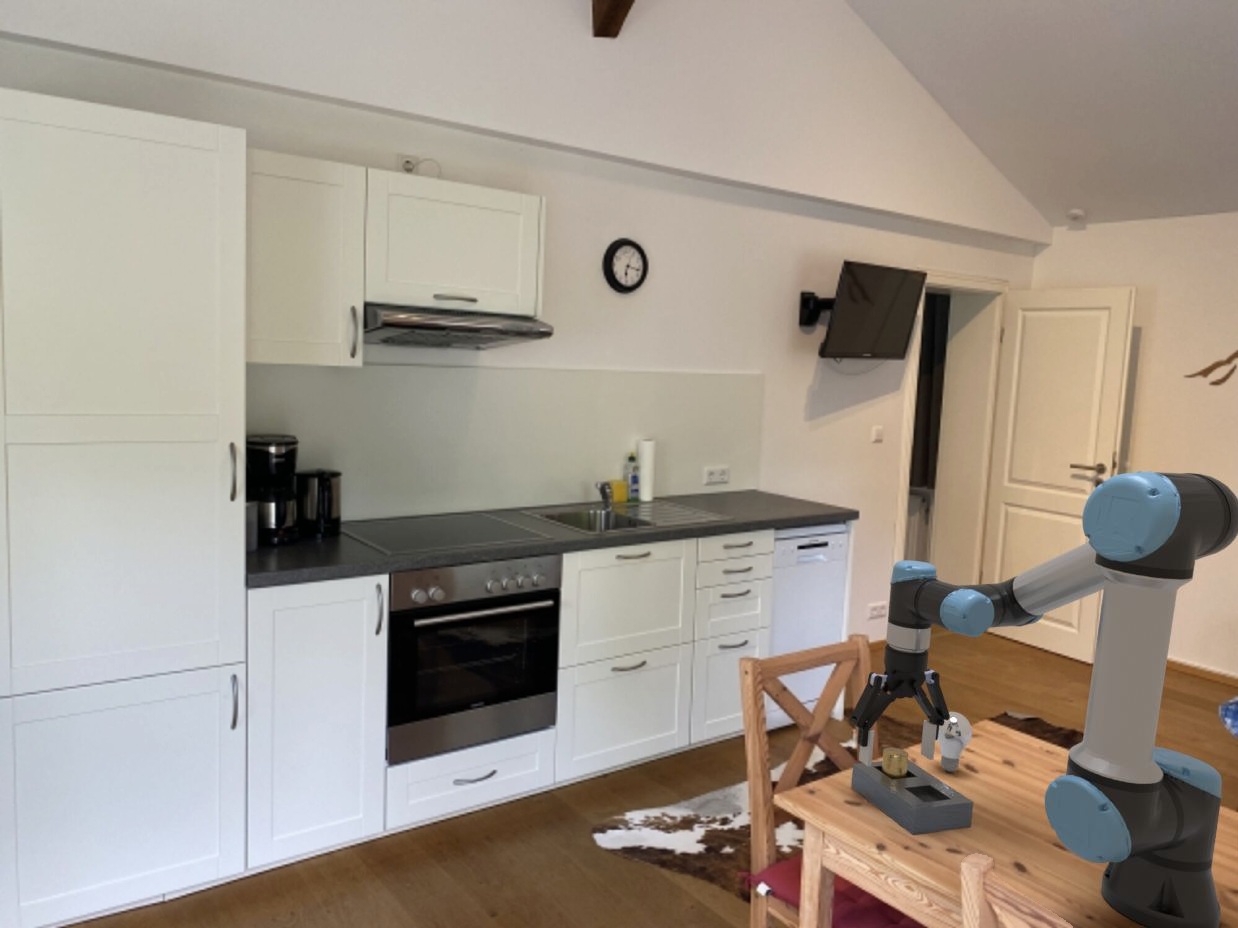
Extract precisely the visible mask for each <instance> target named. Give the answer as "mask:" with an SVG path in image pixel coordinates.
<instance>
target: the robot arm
mask: <svg viewBox="0 0 1238 928" xmlns="http://www.w3.org/2000/svg"><path fill="white" fill-rule="evenodd" d="M1081 522H1082V531H1083V533H1084V536H1085V537H1087V538H1088V542H1085V543H1084V544H1083V543H1082V544H1081V545H1078V546H1077V547H1075V548H1073V549H1071V550H1068V551H1066V552H1064V553H1062V554H1059V555H1058V556H1056V557H1054V558H1051V559H1049V560H1047V561H1045V562H1043V563H1040V564H1038V565H1036V566H1034V567H1032V568H1030V569H1028V570H1025V571H1024V572H1022V573H1020V574H1019V573H1018V575H1016V576H1013V577H1011V578H1009V579H1007V580H1005V581H1002V582H998V583H983V584H966V585H965V584H964V585H962V584H960V585H957V584H952V583H949V582H945V581H942V580H940V579H938V576H937V568H936V567H935V565H933V564H931V563H929V562H924V561H918V560H909V559H907V560H906V559H905V560H899V561H897V562H895V563H894V565H893V568H892V573H891V578H890V581H889V583H890V591H889V592H890V593H889V603H888V615H887V625H886V627H887V628H886V636H885V642H886V643H887V644H886V645H885V647H884V658H883V664H884V667H885V668H884V672H883V674H877V673H875V672H873V671H871V672H869V674H868V677H867V683H866V685H865V688H864V689H863V692H862V693H861V695H860V697H859V700H858V701H857V703H856V705H855V707H854V709H853V710H852V713H851V715H850V717H849V719H848V720H849V723H850V724H852V725H853V726H855V727H857V728H858V732H857V744H858V745H859V751H858V752H859V753H858V754H859V756H858V761H860V762H861V763H864V764H865V765H867V766H871V762H873V761H872V760H873V751H874V749H873V748H874V738H875V730H874V729H872V728H873V726H874V725H875V724H876V723H877V721H878V719H880V717H881V716H882V714H883V713H884V712H885V711H886V709H887V708H888V707H889V706H890V705H891V703H894V702H895V701H896V700H897V699H899V700H900V699H904V698H908V699H913V698H914V699H915V701H916V702H917V704H918V706H919V707H920V709H921V710H922V711H923V713H924V714H925V716H926V718H927V719H923V724H922V725H923V726H922V735H921V745H920V755H921V756H923V757H925V758H926V759H928V760H929V761H933V760H934V759H935V758H934V757H935V748H936V741H938V740H937V739H938V734H939V725H940V726H943V725H944V720H949V718H950V715H949V712H950V711H949V708H948V706H947V702H946V700H945V696H944V695H943V691H942V688H941V685H940V673H939V672H936V671H935V670H933V669H931V668H928V662H929V653H930V652H929V651H928V649H929V648H930V646H931V645H930V644H931V643H930V642H931V633H932V632H931V631H932V624H933V625H935V626H938V627H939V628H943V629H946V630H949V631H950V632H952V633H955V634H957V635H963V636H967V637H969V638H971V637H972V638H975V637H980V636H981V635H983V633H986V632H988V630H989V629H991V628H1005V627H1024V626H1028V625H1032V624H1035V623H1038V622H1039V621H1040V620H1041V619H1042V618H1043V616H1044V614H1046V613H1047V614H1048V613H1049V612H1052V611H1053V610H1056V609H1060V608H1061V607H1064V606H1066V605H1068V604H1071V603H1073V602H1076V601H1079V600H1081V599H1083V598H1085V597H1088V596H1091V595H1093V594H1096V593H1097V592H1100V591H1103V592H1102V599H1101V607H1100V614H1099V622H1098V628H1097V635H1096V636H1097V637H1096V644H1095V648H1094V649H1095V650H1094V659H1093V664H1092V673H1091V680H1090V689H1089V694H1088V701H1087V708H1086V709H1087V710H1086V716H1085V722H1084V723H1085V724H1084V730H1083V731H1084V732H1083V738H1082V740H1081V742H1079V743H1077V744H1075V745H1073V746H1072V747H1070V748H1069V751H1068V758H1067V764H1066V771H1065V774H1062V775H1059V776H1058V777H1057V778H1055V779H1054V780H1052V781H1051V782H1050V783H1049V785H1048V786H1047V788H1046V791H1045V795H1044V809H1045V814H1046V817H1047V820H1048V822H1049V825H1050V828H1052V829H1053V830H1054V831H1055V834H1056V837H1057V838H1058V840H1059V841H1060V843H1062V844H1063V845H1064V846H1065V847H1066V848H1067V850H1068V851H1070V852H1071V853H1072V854H1074V855H1076V856H1077V857H1079V858H1080V859H1082V860H1084V861H1087V862H1091V863H1095V864H1105V863H1108V864H1107V866H1106V868H1105V870H1104V872H1103V874H1102V878H1101V885H1100V887H1101V888H1100V892H1101V895H1102V897H1103V898H1104V900H1105V901H1106V902H1107V903H1108V904H1109V905H1110V906H1111V907H1112V908H1113V909H1115V910H1116V911H1117V912H1119V914H1122V915H1123V916H1125V917H1126V918H1128V919H1130V920H1132V921H1134V922H1137V923H1138V924H1141V925H1143V926H1145V927H1147V928H1220V922H1221V915H1222V913H1221V912H1222V910H1221V906H1220V903H1219V901H1218V896H1217V890H1216V886H1215V880H1214V877H1213V871H1212V869H1213V868H1212V867H1213V859H1214V853H1215V851H1214V850H1215V845H1216V839H1217V838H1216V837H1217V830H1218V822H1219V815H1220V811H1221V810H1220V809H1221V802H1222V800H1223V795H1222V787H1223V786H1222V784H1223V779H1222V777H1221V774H1220V773H1219V771H1217V769H1215V768H1214V767H1213V766H1212V765H1210V764H1208V763H1206V762H1205V761H1202V760H1200V759H1198V758H1195V757H1194V756H1190V755H1188V754H1185V753H1182V752H1178V751H1175V750H1171V749H1168V748H1164V747H1159V746H1155V745H1156V744H1155V743H1156V738H1157V737H1156V736H1157V729H1158V724H1159V717H1160V711H1161V710H1160V709H1161V704H1162V703H1161V702H1162V696H1163V688H1164V682H1165V676H1166V675H1165V674H1166V669H1167V661H1168V656H1169V649H1170V642H1171V636H1172V635H1171V634H1172V627H1173V623H1174V621H1173V620H1174V613H1175V607H1176V601H1177V594H1178V590H1179V589H1180V588H1181V587H1183V586H1185V585H1186V584H1188V583H1190V582H1191V581H1193V578H1194V572H1195V564H1196V561H1197V560H1200V559H1203V558H1206V557H1210V556H1212V555H1215V554H1218V553H1219V552H1221V551H1223V550H1225V549H1226V548H1227V547H1228V546H1230V545H1231V544H1233V542H1234V541H1235V540H1236V538H1237V536H1238V497H1237V496H1236V494H1235V493H1234V491H1232V489H1231V488H1230V487H1229V486H1228V485H1226V484H1225V483H1224V482H1222V481H1220V480H1218V479H1217V478H1214V477H1213V476H1209V475H1205V474H1202V473H1192V472H1188V473H1186V472H1183V473H1179V472H1178V473H1177V472H1157V471H1155V472H1153V471H1141V470H1140V471H1134V472H1133V471H1132V472H1128V473H1120V474H1116V475H1113V476H1111V477H1109V478H1107V479H1106V480H1104V481H1103V482H1101V483H1100V484H1099V485H1097V487H1095V488H1094V489H1093V491H1092V492H1091V493H1090V495H1089V496H1088V498H1087V500H1086V502H1085V505H1084V507H1083V511H1082V519H1081ZM924 683H925V684H926V688H927V691H928V694H929V697H930V699H929V698H928V697H927V693H926V692H925V690H924V689H923V685H924ZM930 700H931V701H930Z"/></svg>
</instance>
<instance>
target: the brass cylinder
mask: <svg viewBox="0 0 1238 928" xmlns="http://www.w3.org/2000/svg"><path fill="white" fill-rule="evenodd" d="M882 751H883V752H882V761H883V762H882V773H883V774H885V775H886V776H888V777H889V778H890V779H892V780H893V779H902V778H906V777H907V766H908V760H909V753H908V752H907V751H906V750H904V749H902V748H898V747H897V748H896V747H886V748H883V750H882Z"/></svg>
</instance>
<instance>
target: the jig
mask: <svg viewBox="0 0 1238 928" xmlns="http://www.w3.org/2000/svg"><path fill="white" fill-rule="evenodd" d="M882 762H883V760H882V761H872V762H871V766H867V765H865V764H864V763H862V762H861V763H853V764H852V774H851V783H850V784H851V785H850V788H851V789H853V790H854V791H855V792H856V793H858V795H860V796H862V797H863V798H864V799H866V800H867V801H868V802H870V803H871V805H873V806H874V807H876V808H877V809H879V810H880V811H882V813H884V814H885V815H887V816H888V817H889V818H890V819H892V820H893V821H894V822H896V823H897V824H898V825H899V826H900V827H902V828H903V829H905V830H906V831H908V832H909V833H910V834H911V835H914V836H915V835H922V834H929V833H930V834H931V833H938V832H944V831H951V830H959V829H960V830H961V829H965V828H967V829H968V828H971V827H972V819H973V812H974V811H973V808H974V801H973V800H971V799H969V798H968V797H966V796H965V795H964V794H962V793H960V792H959V791H958V790H955V789H954V788H953V787H952V786H950V785H948V784H946V782H943V780H941V779H939V778H937V777H936V776H934V775H933V774H932V773H929V772H928V771H926V770H925V769H923V768H922V767H920V766H919V765H917V764H916V763H914V762H912V761H911V760H910V759H908V766H907V777H906V778H902V779H893V780H892V779H890V778H889V777H888V776H886V775H885V774H883V773H882Z"/></svg>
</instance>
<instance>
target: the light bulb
mask: <svg viewBox="0 0 1238 928" xmlns="http://www.w3.org/2000/svg"><path fill="white" fill-rule="evenodd" d="M948 712H949V715H950V718H949V720H944V725H943V726H940V725H939V734H938V739H937V740H936V741H937V742H938V743H939V748H940V749H939V750H940V754H941V757H940V758H941V759H940V766H941V767H942V769H943V770H945V772H947V773H948V774H949V773H953V772H955V771H957V770H958V768H959V766H960V765H959V764H960V758H961V756H962V753H963V750H964V749H965V747H967V745H968V744H969V743H970V741H971V739H972V736H973V729H972V725H971V723H970V721H969V720H968V718H967V717H966V716H965V715H963V714H961V713H960V712H957V711H948Z"/></svg>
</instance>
